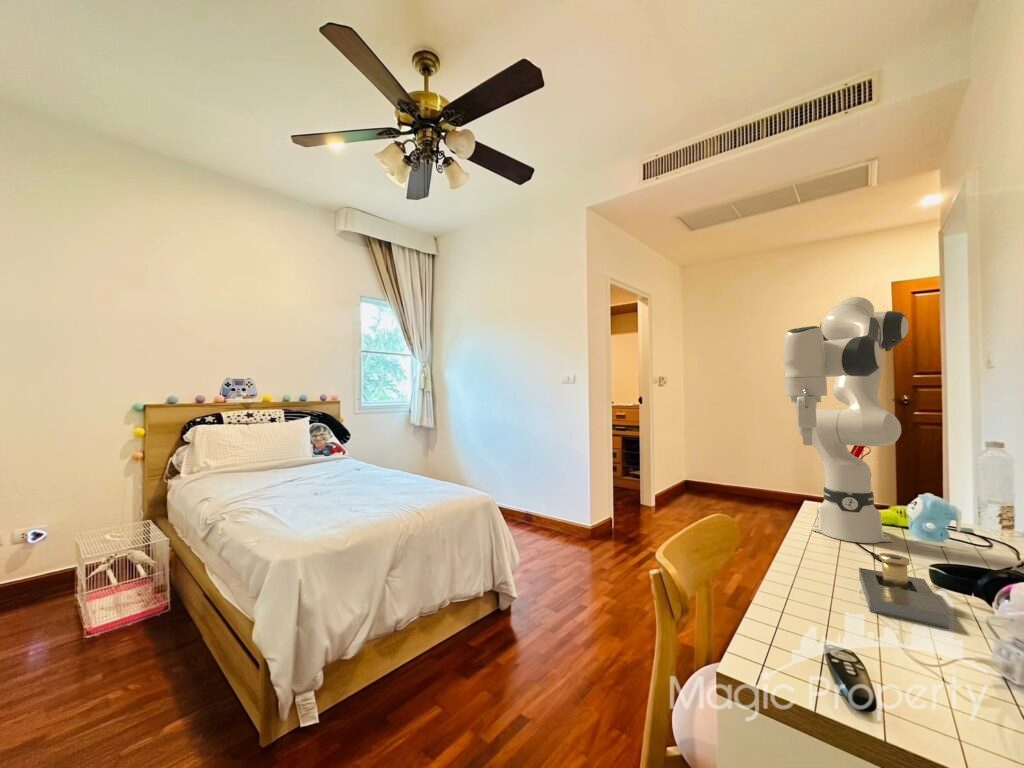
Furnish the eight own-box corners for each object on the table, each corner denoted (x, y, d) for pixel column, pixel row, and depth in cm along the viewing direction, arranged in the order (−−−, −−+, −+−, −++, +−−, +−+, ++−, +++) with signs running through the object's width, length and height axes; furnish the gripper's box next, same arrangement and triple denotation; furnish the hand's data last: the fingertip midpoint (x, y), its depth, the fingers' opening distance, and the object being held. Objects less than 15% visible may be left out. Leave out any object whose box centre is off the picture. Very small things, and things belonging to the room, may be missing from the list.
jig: (859, 578, 96) (859, 567, 96) (924, 590, 90) (924, 579, 90) (869, 611, 82) (869, 598, 82) (948, 628, 75) (948, 615, 75)
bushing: (879, 587, 92) (877, 551, 92) (908, 593, 89) (906, 555, 89) (882, 596, 88) (881, 558, 88) (913, 602, 85) (911, 563, 85)
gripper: (822, 388, 94) (824, 448, 94) (819, 389, 111) (821, 440, 111) (789, 389, 98) (791, 446, 98) (791, 389, 115) (793, 439, 114)
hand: (807, 443), depth 104 cm, fingers open, 8 cm apart
